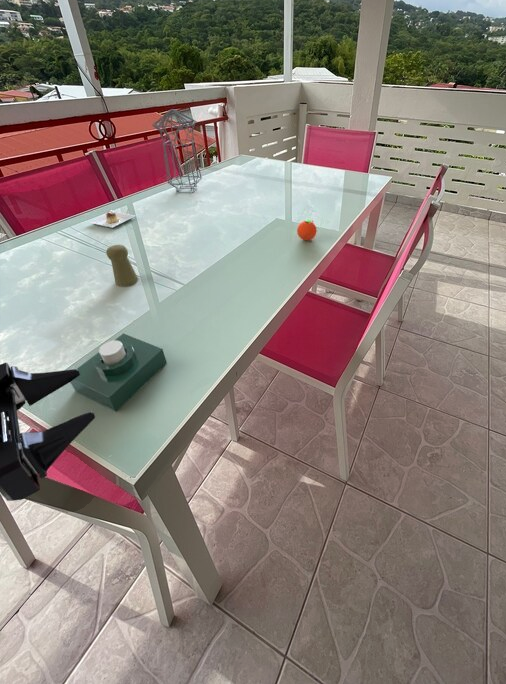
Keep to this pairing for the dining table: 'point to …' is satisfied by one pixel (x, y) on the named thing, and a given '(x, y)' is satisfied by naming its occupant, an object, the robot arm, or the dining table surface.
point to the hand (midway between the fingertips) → (86, 391)
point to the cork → (121, 266)
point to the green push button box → (119, 373)
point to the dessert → (112, 219)
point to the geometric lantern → (178, 115)
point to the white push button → (112, 352)
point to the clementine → (306, 230)
